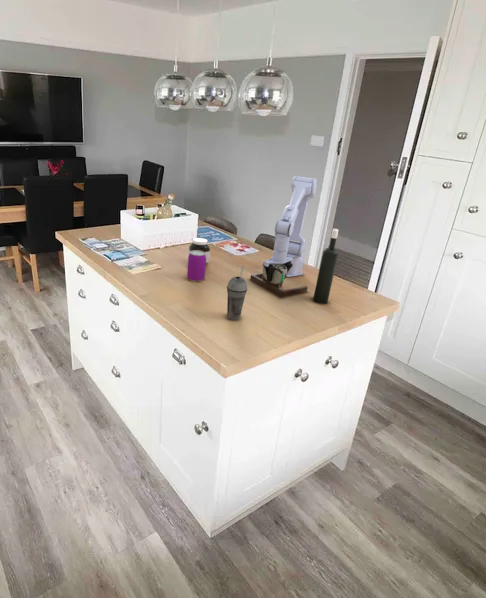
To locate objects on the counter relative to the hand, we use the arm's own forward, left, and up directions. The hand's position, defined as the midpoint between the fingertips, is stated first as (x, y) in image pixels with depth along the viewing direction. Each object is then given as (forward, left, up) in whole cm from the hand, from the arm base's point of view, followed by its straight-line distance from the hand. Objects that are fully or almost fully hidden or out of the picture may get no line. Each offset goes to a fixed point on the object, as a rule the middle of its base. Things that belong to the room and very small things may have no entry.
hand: (275, 279), depth 179 cm
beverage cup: (+34, +17, -3) cm, 38 cm away
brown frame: (-2, 0, -3) cm, 4 cm away
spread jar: (+18, -35, -3) cm, 39 cm away
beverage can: (+28, -20, -3) cm, 35 cm away
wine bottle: (-8, +19, -3) cm, 21 cm away
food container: (0, 0, -3) cm, 3 cm away
